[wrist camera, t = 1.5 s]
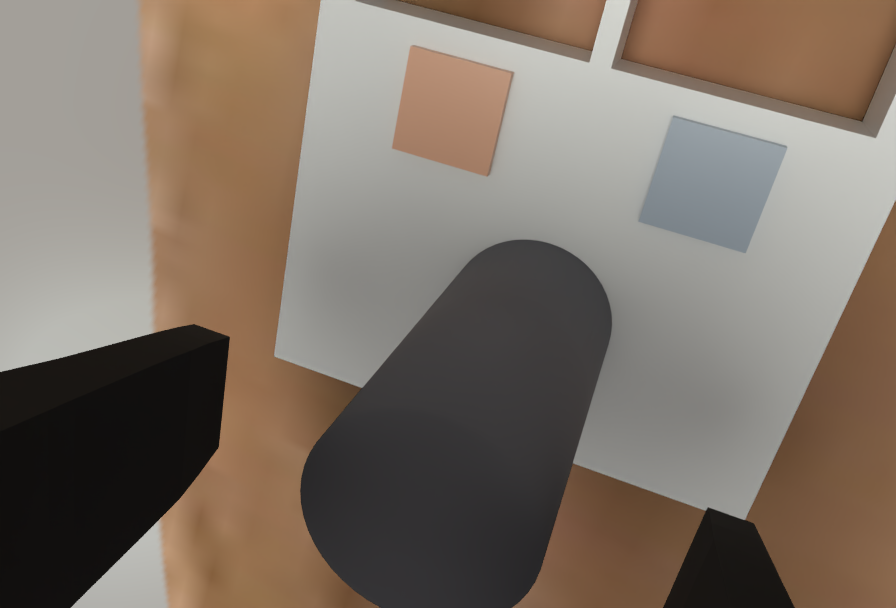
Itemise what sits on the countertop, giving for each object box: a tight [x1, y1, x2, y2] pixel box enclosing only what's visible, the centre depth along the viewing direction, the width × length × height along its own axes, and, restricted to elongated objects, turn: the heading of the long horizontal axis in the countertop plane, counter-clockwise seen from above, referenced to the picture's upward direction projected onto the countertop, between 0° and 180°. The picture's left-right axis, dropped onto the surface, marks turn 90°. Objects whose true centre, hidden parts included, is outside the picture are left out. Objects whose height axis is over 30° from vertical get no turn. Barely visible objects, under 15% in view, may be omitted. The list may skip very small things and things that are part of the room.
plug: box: [300, 240, 612, 608], centre depth 14 cm, size 3×3×7 cm
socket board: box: [274, 0, 896, 520], centre depth 16 cm, size 14×11×2 cm
